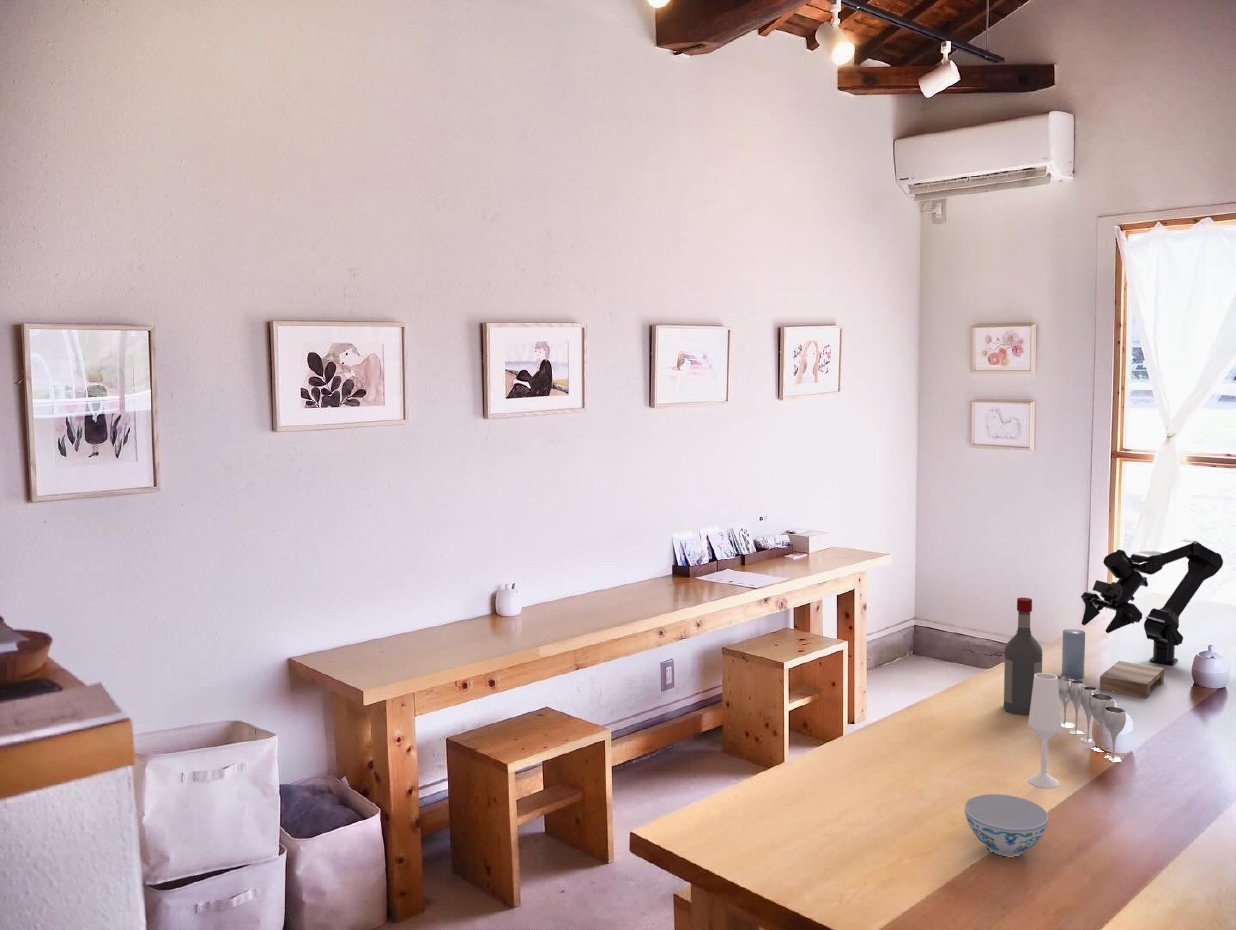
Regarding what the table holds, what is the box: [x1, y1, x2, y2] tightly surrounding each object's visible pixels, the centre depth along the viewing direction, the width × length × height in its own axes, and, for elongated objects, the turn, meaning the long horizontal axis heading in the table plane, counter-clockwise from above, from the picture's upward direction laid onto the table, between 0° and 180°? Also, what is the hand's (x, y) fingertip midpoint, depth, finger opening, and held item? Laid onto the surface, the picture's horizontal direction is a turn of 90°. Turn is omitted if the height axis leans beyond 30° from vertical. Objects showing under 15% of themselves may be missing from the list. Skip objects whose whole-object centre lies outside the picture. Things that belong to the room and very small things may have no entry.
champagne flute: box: [1027, 672, 1062, 789], centre depth 225 cm, size 7×7×24 cm
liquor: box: [1003, 597, 1043, 716], centre depth 270 cm, size 9×9×30 cm
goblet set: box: [1057, 675, 1127, 763], centre depth 249 cm, size 28×6×13 cm, turn 3°
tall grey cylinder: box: [1061, 628, 1086, 679], centre depth 299 cm, size 6×6×13 cm
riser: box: [1099, 660, 1165, 699], centre depth 289 cm, size 18×12×4 cm, turn 139°
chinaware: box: [964, 793, 1049, 856], centre depth 196 cm, size 15×15×8 cm
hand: (1094, 628), depth 300 cm, fingers open, 9 cm apart
